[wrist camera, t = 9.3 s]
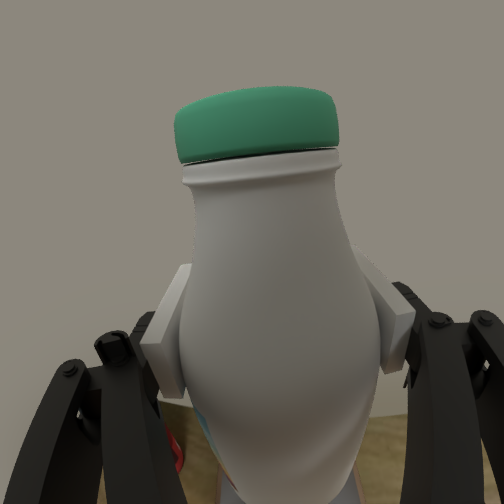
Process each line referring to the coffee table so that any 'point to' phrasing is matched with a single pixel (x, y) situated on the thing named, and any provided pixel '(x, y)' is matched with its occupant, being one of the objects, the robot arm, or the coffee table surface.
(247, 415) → the milk bottle
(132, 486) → the robot arm
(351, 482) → the riser
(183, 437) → the coffee table surface
